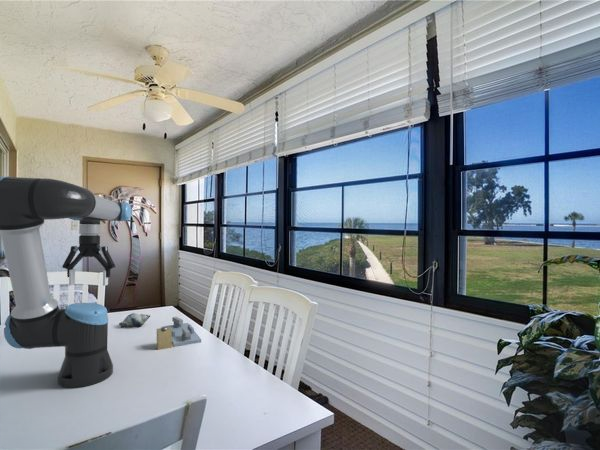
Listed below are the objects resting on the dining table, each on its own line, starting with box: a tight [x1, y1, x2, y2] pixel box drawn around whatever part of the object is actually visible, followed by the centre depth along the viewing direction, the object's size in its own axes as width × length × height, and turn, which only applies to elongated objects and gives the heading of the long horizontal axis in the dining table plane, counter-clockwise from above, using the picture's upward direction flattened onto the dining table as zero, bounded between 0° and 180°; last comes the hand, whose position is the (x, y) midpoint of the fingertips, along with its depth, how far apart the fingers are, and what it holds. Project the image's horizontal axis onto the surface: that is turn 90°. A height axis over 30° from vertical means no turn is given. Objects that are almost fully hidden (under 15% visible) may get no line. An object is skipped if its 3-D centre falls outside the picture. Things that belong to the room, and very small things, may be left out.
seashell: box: [118, 312, 151, 328], centre depth 161 cm, size 6×8×12 cm
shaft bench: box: [163, 316, 202, 348], centre depth 150 cm, size 26×11×5 cm, turn 30°
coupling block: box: [156, 326, 173, 351], centre depth 136 cm, size 5×5×8 cm
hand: (88, 285), depth 141 cm, fingers open, 13 cm apart
